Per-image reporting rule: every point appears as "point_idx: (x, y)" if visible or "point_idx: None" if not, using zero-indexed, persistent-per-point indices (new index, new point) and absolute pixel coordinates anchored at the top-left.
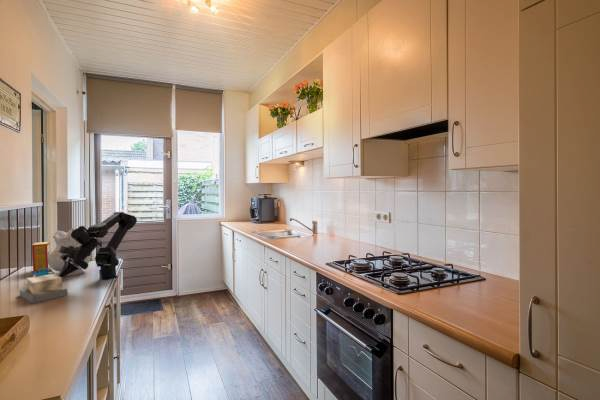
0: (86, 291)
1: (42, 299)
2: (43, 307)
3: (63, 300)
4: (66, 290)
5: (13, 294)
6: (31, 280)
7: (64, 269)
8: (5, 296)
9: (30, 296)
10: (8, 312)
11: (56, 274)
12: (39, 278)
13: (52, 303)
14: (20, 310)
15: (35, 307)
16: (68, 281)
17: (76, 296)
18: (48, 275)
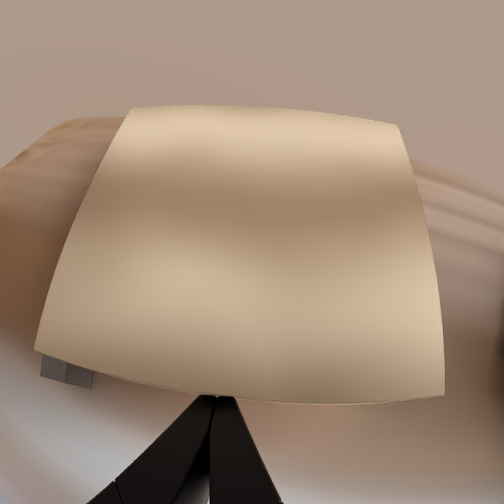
0: (50, 493)
1: None
2: (12, 213)
3: (4, 310)
4: (44, 372)
5: (430, 188)
6: (252, 114)
7: (105, 493)
8: (413, 159)
9: None
10: (97, 123)
11: (351, 401)
12: (277, 170)
13: (16, 256)
14: (72, 150)
15: (43, 192)
16: (498, 496)
17: (3, 391)
18: (384, 293)
